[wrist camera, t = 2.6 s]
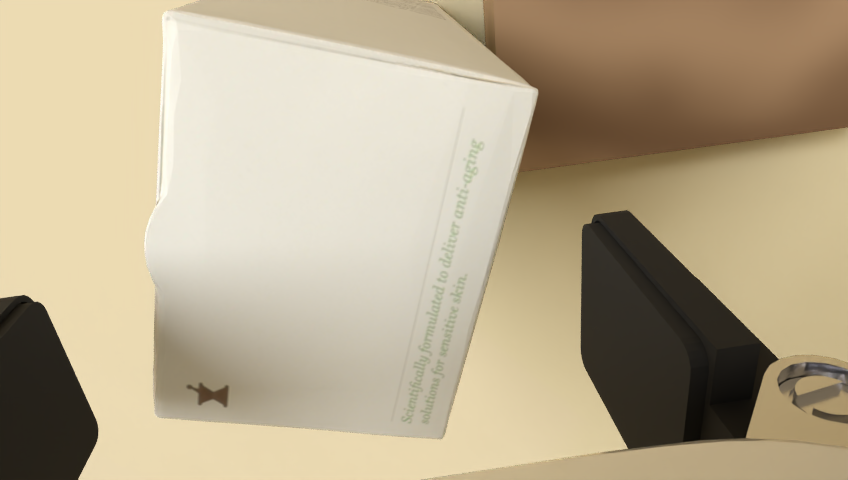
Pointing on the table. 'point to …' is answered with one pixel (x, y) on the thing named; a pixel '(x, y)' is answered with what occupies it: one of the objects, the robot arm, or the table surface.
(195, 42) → the skincare box
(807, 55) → the walnut board
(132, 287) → the table surface
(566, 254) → the table surface
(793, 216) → the table surface
